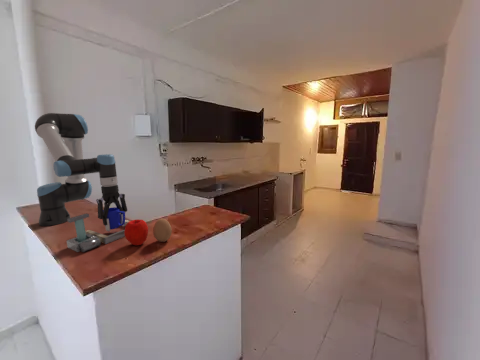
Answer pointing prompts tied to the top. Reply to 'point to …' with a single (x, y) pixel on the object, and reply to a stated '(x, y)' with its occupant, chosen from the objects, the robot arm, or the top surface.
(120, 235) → the bay
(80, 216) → the crank peg
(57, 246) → the top surface
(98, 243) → the block
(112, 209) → the mug
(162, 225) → the egg
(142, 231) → the apple
